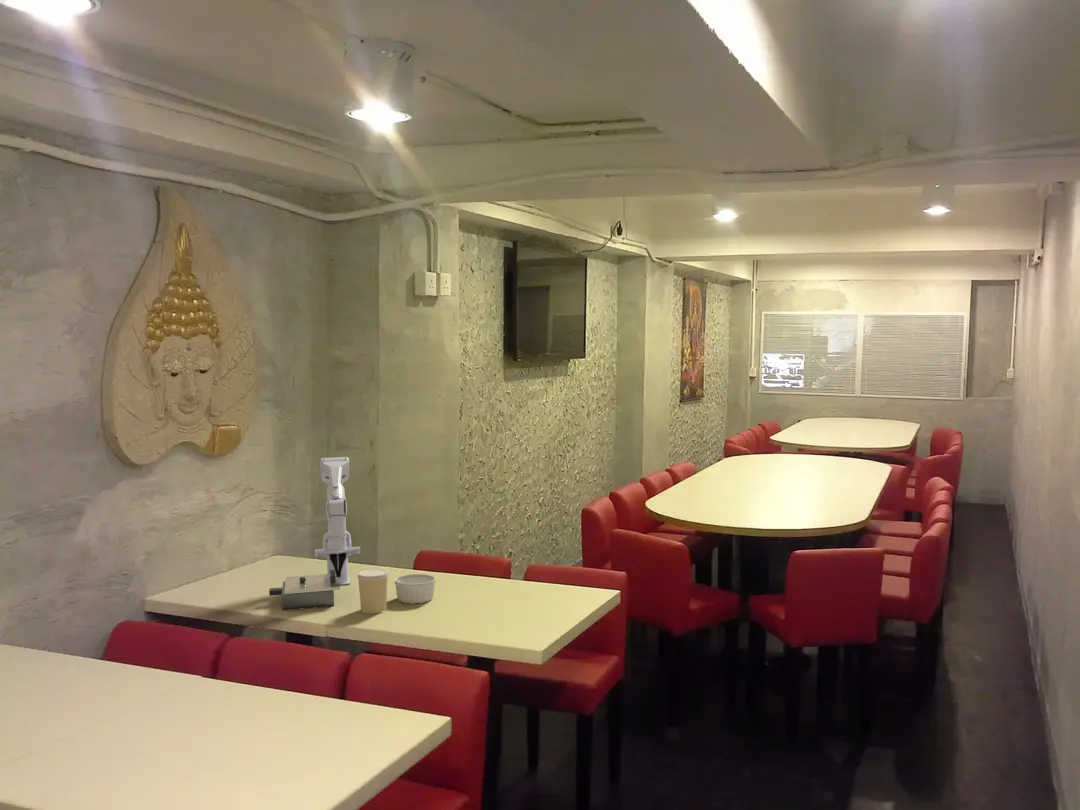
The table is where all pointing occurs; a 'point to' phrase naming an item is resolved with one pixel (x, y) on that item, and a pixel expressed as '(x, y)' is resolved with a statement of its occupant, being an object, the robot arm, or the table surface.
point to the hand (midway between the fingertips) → (338, 576)
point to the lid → (312, 583)
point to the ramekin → (415, 588)
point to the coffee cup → (373, 590)
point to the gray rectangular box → (303, 598)
